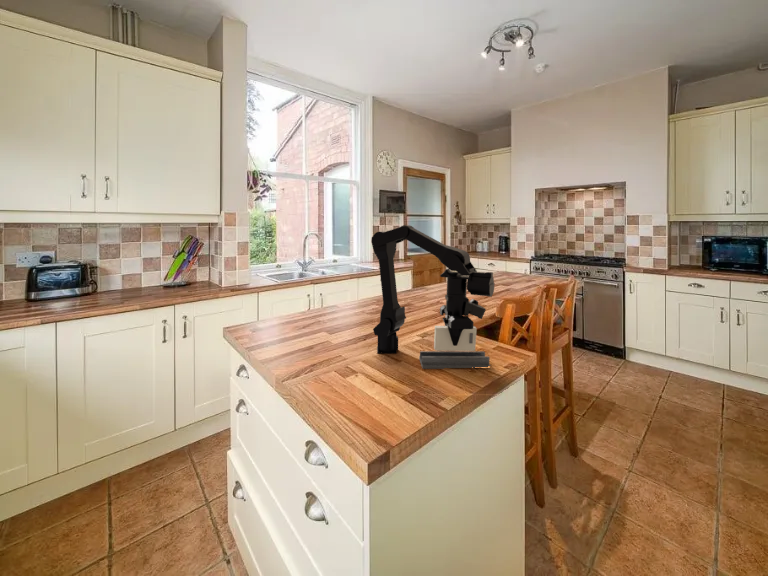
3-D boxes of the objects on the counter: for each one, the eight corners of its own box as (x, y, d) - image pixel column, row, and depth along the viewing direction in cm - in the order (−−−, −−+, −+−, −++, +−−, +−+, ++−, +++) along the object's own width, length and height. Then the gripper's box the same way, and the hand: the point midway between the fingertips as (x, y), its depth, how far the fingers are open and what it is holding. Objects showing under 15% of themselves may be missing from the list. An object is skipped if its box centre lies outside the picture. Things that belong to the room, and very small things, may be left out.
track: (422, 368, 104) (422, 358, 104) (419, 358, 112) (419, 349, 112) (490, 368, 104) (491, 359, 104) (482, 359, 112) (483, 349, 112)
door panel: (435, 351, 106) (436, 328, 105) (433, 347, 109) (434, 325, 108) (475, 351, 106) (476, 328, 105) (473, 348, 109) (474, 326, 108)
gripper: (493, 299, 96) (490, 355, 98) (475, 288, 114) (472, 335, 117) (452, 299, 96) (450, 354, 98) (440, 287, 114) (438, 334, 116)
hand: (454, 344), depth 107 cm, fingers closed on door panel, 2 cm apart
